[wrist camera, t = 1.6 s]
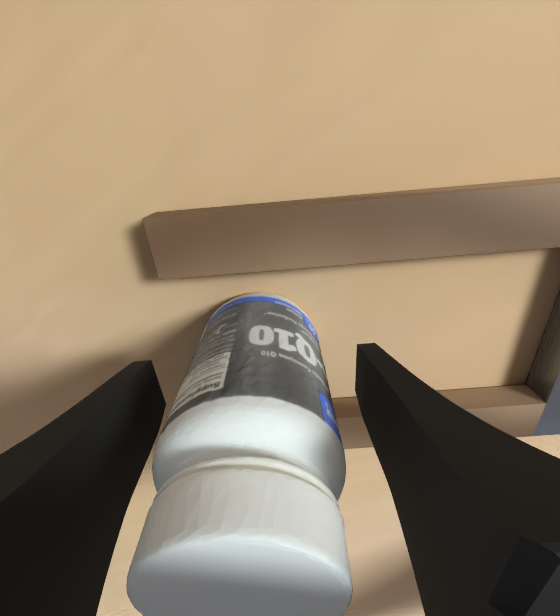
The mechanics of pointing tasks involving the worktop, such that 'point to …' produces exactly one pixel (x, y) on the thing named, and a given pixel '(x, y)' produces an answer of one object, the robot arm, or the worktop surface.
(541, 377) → the panel
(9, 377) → the worktop surface
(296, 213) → the guide channel
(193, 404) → the pill bottle
